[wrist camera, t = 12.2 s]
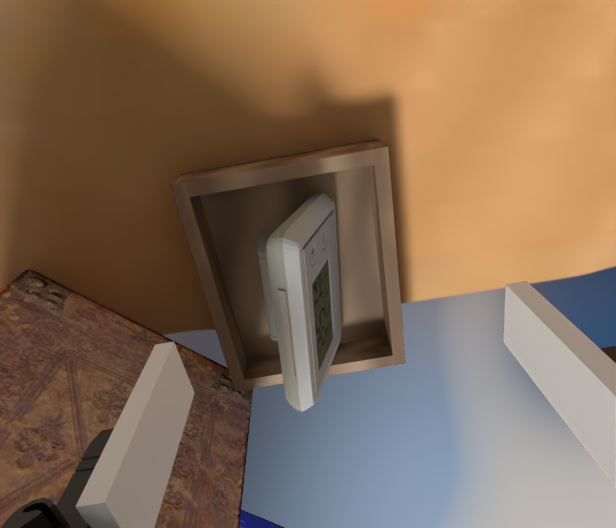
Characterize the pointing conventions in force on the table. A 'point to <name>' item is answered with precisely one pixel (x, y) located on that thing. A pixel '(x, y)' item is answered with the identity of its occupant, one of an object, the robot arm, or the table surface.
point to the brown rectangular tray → (267, 218)
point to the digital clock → (303, 296)
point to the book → (106, 404)
